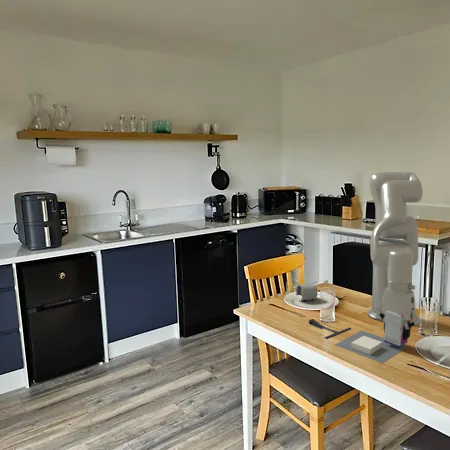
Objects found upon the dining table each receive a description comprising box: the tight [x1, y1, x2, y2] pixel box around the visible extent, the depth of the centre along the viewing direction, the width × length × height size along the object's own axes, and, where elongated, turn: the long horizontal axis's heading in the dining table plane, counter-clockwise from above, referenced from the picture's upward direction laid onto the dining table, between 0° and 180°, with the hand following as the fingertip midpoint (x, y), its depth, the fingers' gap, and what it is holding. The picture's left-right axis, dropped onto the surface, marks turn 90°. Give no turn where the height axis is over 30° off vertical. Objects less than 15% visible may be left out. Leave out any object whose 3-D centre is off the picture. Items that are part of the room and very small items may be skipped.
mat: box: [334, 329, 409, 364], centre depth 141 cm, size 18×18×1 cm
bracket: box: [308, 318, 352, 340], centre depth 156 cm, size 14×15×3 cm
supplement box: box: [383, 311, 409, 347], centre depth 139 cm, size 6×6×12 cm
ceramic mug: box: [295, 284, 318, 302], centre depth 191 cm, size 11×8×8 cm
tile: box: [351, 336, 382, 355], centre depth 139 cm, size 2×7×8 cm
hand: (396, 335), depth 140 cm, fingers closed on supplement box, 5 cm apart
